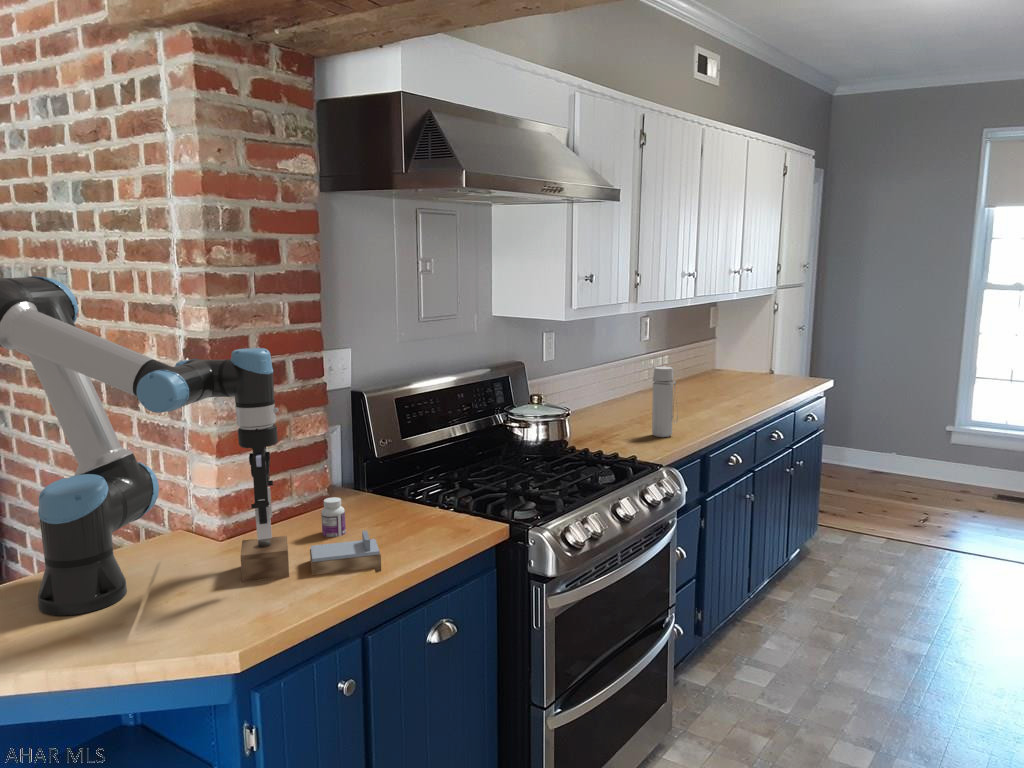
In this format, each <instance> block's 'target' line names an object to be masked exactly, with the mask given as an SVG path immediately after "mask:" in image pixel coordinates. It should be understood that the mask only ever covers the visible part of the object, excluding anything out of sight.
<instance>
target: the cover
mask: <svg viewBox="0 0 1024 768" xmlns="http://www.w3.org/2000/svg"><path fill="white" fill-rule="evenodd" d="M288 549H289V545H288V535H283V536H282V535H281V536H272V538H268V539H260V540H257V538H251V539H243V540H242V541H241V549H240V569H241V570H240V571H241V583H246V582H255V581H265V580H271V579H281V578H288V577H290V567H289V550H288Z"/></svg>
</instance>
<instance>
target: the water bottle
mask: <svg viewBox="0 0 1024 768" xmlns="http://www.w3.org/2000/svg"><path fill="white" fill-rule="evenodd" d="M676 383H677V381H674V368H673V367H670V366H656V367H654V368H653V376H652V411H651V412H652V414H651V415H652V416H651V417H652V421H651V422H652V423H651V424H652V425H651V433H652V436H654V437H657V438H668V437H671V436H672V435H673V423H674V424H677V423H678V421H679V420H678V419H679V418H678V417H679V414H678V413H679V411H678V410H676V415H677V417H676V421H675V420H674V419H673V415H674V414H675V413H674V411H675V408H674V407H675V406H678V404H677V403H678V402H677V400H675V401H674V395H677V394H676V393H677V392H676ZM675 404H676V405H675Z"/></svg>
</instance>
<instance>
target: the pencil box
mask: <svg viewBox="0 0 1024 768" xmlns="http://www.w3.org/2000/svg"><path fill="white" fill-rule="evenodd" d="M309 557H310V558H309V559H310V568H311V569H310V570H311V575H312V576H315V575H322V574H331V573H340V572H349V571H356V570H363V569H374V571H375V572H382V554H381V553H380V554H379V555H371V556H362V557H353V558H344V559H336V560H327V561H318V562H312V554H311V548H310V549H309Z"/></svg>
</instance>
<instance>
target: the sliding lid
mask: <svg viewBox="0 0 1024 768" xmlns="http://www.w3.org/2000/svg"><path fill="white" fill-rule="evenodd" d="M361 537H362V539H361V540H352V541H351V540H350V541H343V542H334V543H333V542H332V543H324V544H316V545H310V549H311V554H312V562H318V561H327V560H336V559H344V558H353V557H362V556H371V555H379V554H381V552H380V548H379V546H378V543H377V540H376V538H371V539H370V536H369V533H368V530H362V531H361Z"/></svg>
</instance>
